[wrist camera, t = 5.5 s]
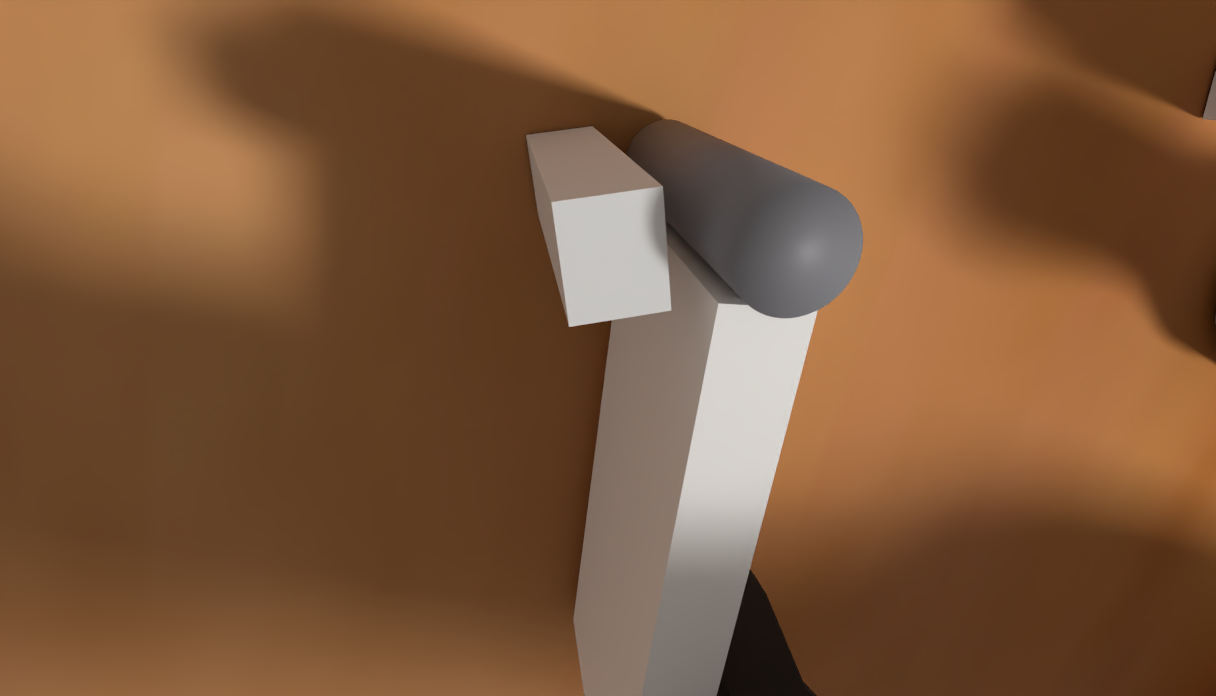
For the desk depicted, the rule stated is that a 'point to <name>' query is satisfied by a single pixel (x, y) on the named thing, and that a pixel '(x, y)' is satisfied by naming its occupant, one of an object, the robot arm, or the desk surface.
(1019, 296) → the desk surface
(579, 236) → the wall
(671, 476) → the door
